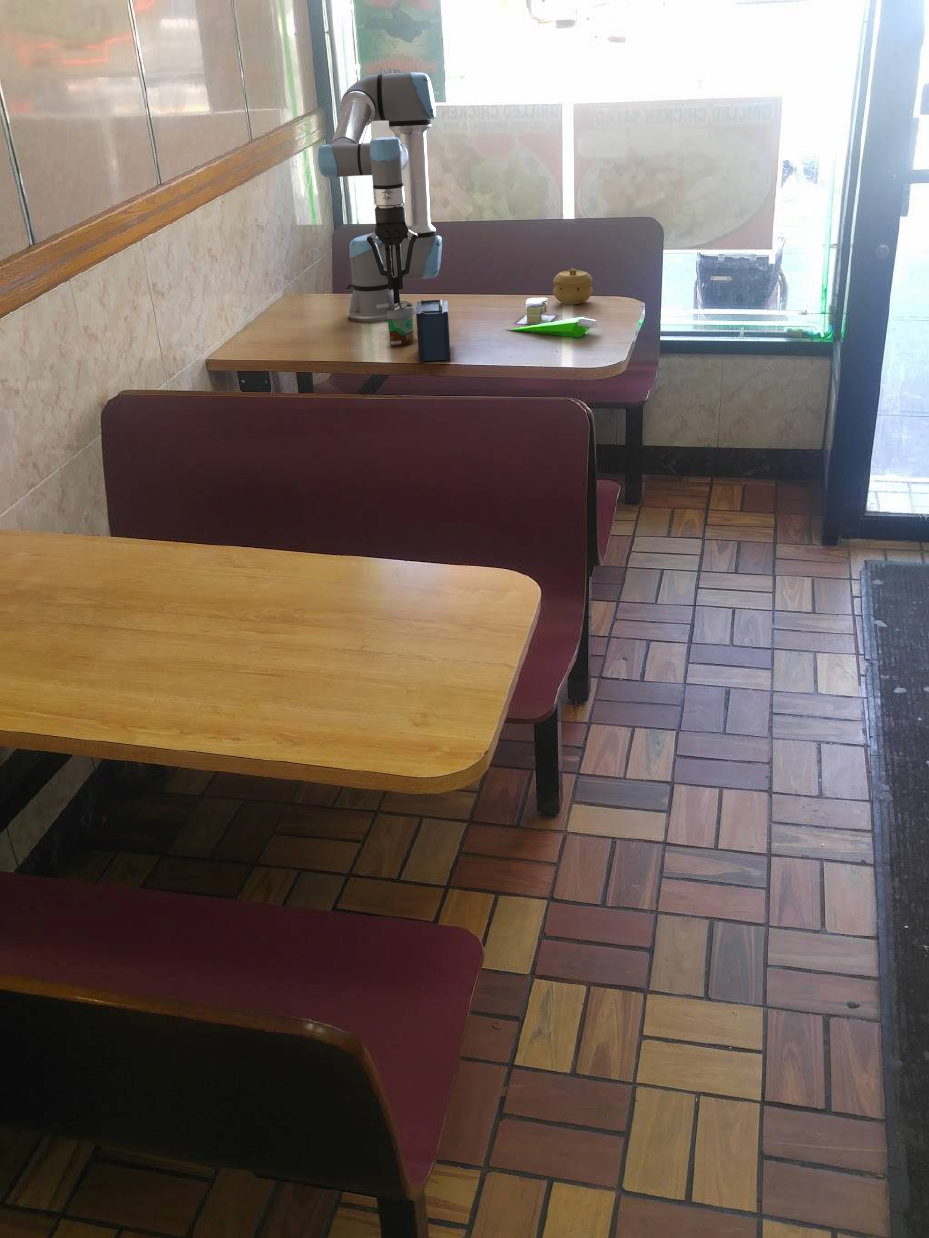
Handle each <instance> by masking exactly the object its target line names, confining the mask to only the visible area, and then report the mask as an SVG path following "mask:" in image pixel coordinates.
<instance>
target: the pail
mask: <svg viewBox="0 0 929 1238" xmlns="http://www.w3.org/2000/svg"><path fill="white" fill-rule="evenodd" d="M448 302H449V301H448V299H447V300H442V299H441V298H439V299H428V300H427V299H426V300H424V299H422V300H421V301H416V308H415V311H416V312H415V318H416V319H415V320H416V334H417V346H418V347H417V349H418V361H419V364H422V363H424V362H429V361H430V362H432V361H433V362H434V361H435V362H436V361H446V362H451V340H450V337H451V336H450V321H449V305H448Z"/></svg>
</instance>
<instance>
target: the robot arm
mask: <svg viewBox="0 0 929 1238" xmlns="http://www.w3.org/2000/svg"><path fill="white" fill-rule="evenodd" d="M436 112H437V111H436V102H435V96H434V90H433V86H432V82H431V79H430V77H429V76H428V74H426V73H425V72H414V71H410V72H397V73H396V72H394V73H381V74H379V73H375V74H370V75H367V76H364V77H363V78H361V79H359V80H357V81H356V82H355V83H353V84H352V85H351V86H350V87H348V88H347V90H346V91H345V92H344V94H343V95H342V97H341V100H340V103H339V113H340V116H339V119H338V122H337V125H336V128H335V131H334V134H333V138H332V141H331V144H330V143H327V144H322V145H320V146H319V147H318V150H317V164H318V165H317V166H318V170H319V172H320V175H321V176H322V177H325V178H326V177H327V178H329V177H330V178H331V177H332V178H341V177H361V176H371V179H372V194H373V205H375V208H374V216H375V217H374V219H375V227H374V230H373V232H372V233H367V234H363V235H360V236H356V237H355V238H353V239H351V240H350V242H349V245H348V247H349V256H348V257H349V263H350V273H351V283H350V284H348V285H347V287H346V288H347V289H350V288H352V295H351V300H350V306H349V311H348V315H349V319H350V320H351V321H354V322H358V323H380V322H388V319H387V311H391V310H392V308H393V307H396V306H397V305H398V304H399V303H400V301H401V292H400V290H403V289H404V280H422V281H423V280H427V279H428V280H429V279H434V278H437V276H438V275H439V273H440V270H441V263H442V253H443V237H442V236H440V235H437V229H436V227H435V226H434V225H433V224H432V223H431V210H430V209H431V208H430V207H431V206H430V191H429V190H430V188H429V170H428V151H427V131H429V129H431V127H432V124H431V122H432V121H431V120H433V119H435V118H437V117H436V116H437V113H436ZM379 121H382V122H383V121H384V122H385V121H386V122H387V121H388V128H389V130H391V132H392V133H393V134H394V136H380V137H379V136H378V137H374V138H371V139H370V141H369V142H364V140H365V136H366V132H367V129H368V126H369V125H370V124H371V123H373V122H379Z"/></svg>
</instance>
